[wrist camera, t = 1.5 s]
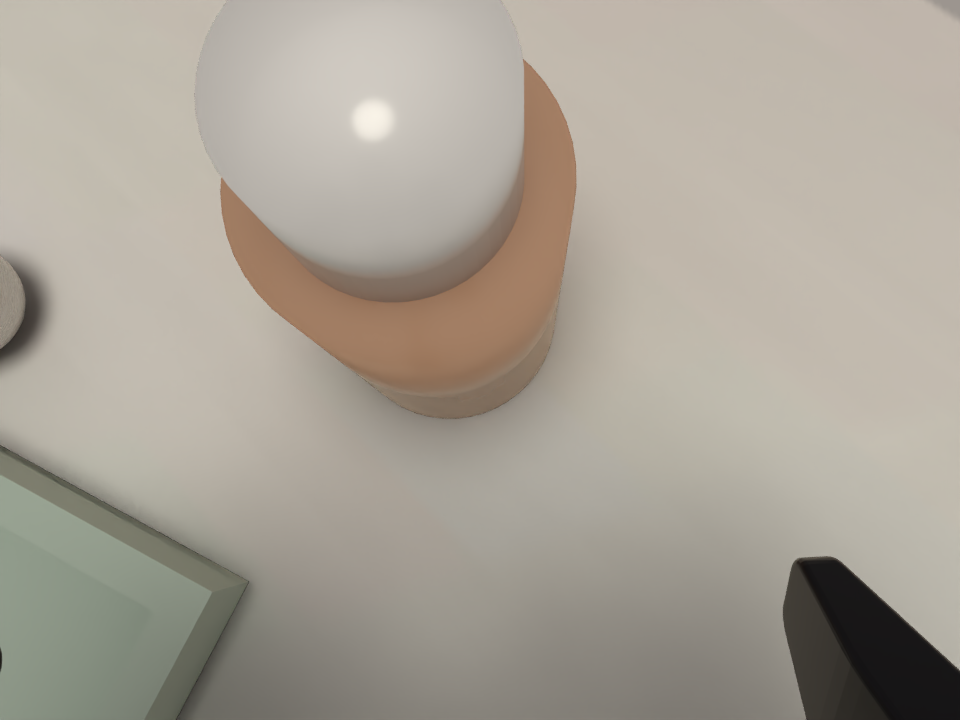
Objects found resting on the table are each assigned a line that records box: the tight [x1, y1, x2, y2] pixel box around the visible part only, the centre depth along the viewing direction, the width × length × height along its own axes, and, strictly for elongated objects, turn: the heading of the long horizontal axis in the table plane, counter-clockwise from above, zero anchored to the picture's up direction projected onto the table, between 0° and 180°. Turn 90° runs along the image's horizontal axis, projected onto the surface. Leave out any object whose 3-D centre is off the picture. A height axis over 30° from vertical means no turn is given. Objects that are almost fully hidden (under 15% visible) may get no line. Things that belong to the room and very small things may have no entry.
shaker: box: [194, 0, 576, 419], centre depth 16 cm, size 6×6×12 cm
